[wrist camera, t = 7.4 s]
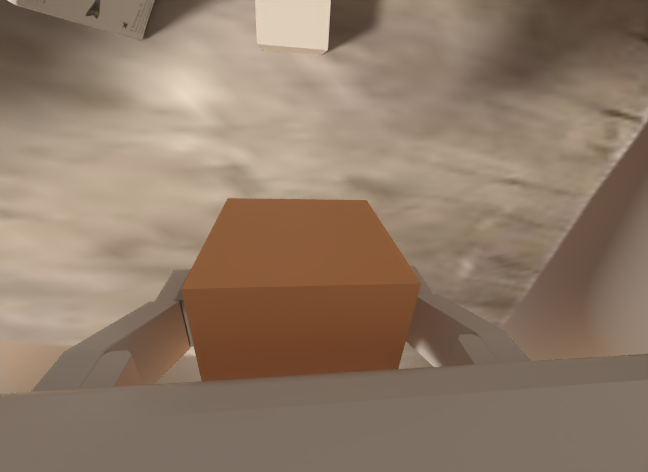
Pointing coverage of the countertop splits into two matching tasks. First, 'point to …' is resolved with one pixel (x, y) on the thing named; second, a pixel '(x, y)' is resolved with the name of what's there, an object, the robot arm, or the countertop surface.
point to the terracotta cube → (298, 291)
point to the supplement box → (98, 13)
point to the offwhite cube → (293, 25)
